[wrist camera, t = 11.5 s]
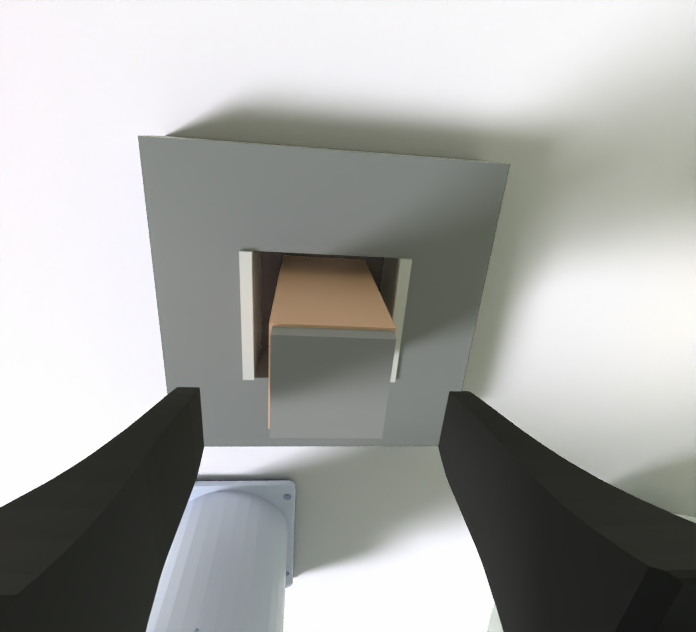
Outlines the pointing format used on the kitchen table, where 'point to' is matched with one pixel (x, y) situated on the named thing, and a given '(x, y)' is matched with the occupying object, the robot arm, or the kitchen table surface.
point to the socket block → (314, 238)
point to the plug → (328, 351)
